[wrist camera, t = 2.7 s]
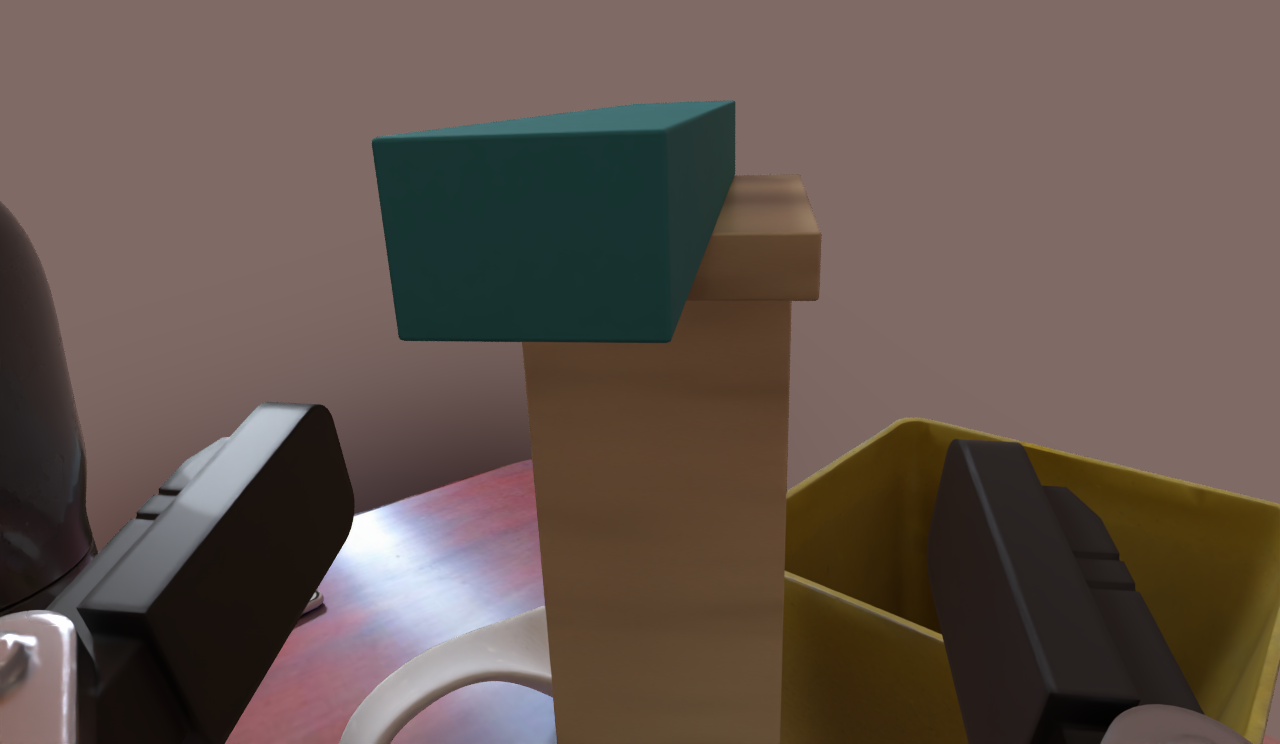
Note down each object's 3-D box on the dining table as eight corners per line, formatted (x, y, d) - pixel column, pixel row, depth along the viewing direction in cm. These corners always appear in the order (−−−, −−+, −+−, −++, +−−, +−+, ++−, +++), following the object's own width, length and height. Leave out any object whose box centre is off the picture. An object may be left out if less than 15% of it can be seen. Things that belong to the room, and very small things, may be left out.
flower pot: (888, 648, 53) (906, 409, 47) (1243, 807, 40) (1323, 508, 35) (707, 840, 40) (704, 541, 34) (1150, 1162, 27) (1255, 775, 22)
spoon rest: (663, 606, 58) (660, 517, 56) (775, 701, 49) (777, 599, 46) (321, 753, 46) (299, 648, 44) (381, 917, 37) (358, 795, 34)
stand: (615, 844, 40) (575, 178, 29) (781, 861, 38) (800, 173, 28) (556, 1141, 29) (456, 235, 18) (786, 1179, 27) (821, 231, 17)
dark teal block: (636, 177, 29) (633, 104, 28) (735, 175, 28) (735, 100, 28) (396, 342, 10) (368, 137, 9) (671, 345, 10) (666, 127, 9)
